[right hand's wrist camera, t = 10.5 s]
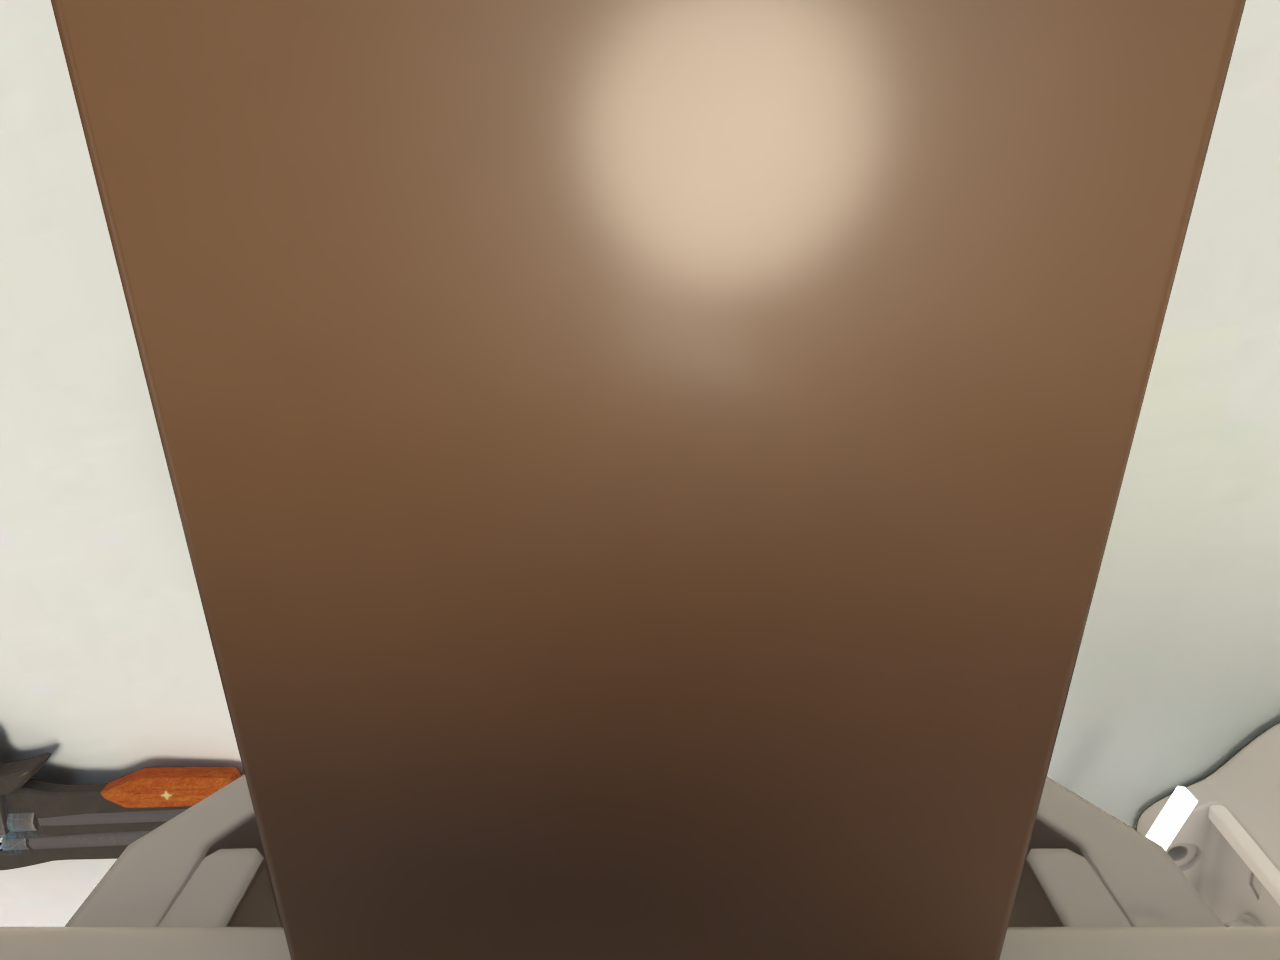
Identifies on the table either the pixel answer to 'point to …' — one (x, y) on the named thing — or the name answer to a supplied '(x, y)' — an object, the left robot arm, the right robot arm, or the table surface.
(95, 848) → the toy gun
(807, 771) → the bar
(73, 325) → the table surface
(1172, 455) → the table surface
